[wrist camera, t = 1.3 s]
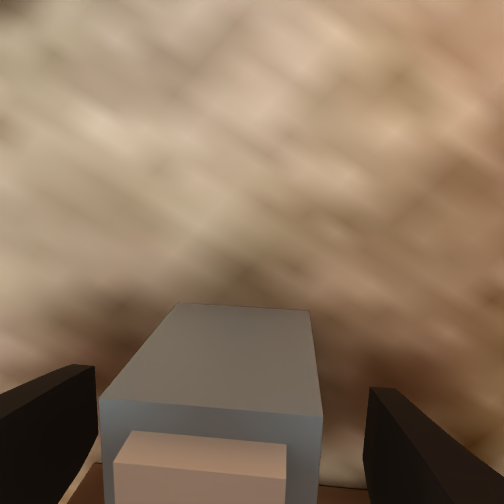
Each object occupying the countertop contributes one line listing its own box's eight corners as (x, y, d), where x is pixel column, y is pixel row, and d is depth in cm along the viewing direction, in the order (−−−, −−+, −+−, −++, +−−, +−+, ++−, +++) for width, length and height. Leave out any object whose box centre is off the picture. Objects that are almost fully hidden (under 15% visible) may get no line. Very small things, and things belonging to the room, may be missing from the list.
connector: (309, 310, 12) (327, 449, 6) (301, 428, 13) (311, 650, 7) (178, 302, 12) (75, 426, 6) (179, 417, 13) (89, 620, 7)
